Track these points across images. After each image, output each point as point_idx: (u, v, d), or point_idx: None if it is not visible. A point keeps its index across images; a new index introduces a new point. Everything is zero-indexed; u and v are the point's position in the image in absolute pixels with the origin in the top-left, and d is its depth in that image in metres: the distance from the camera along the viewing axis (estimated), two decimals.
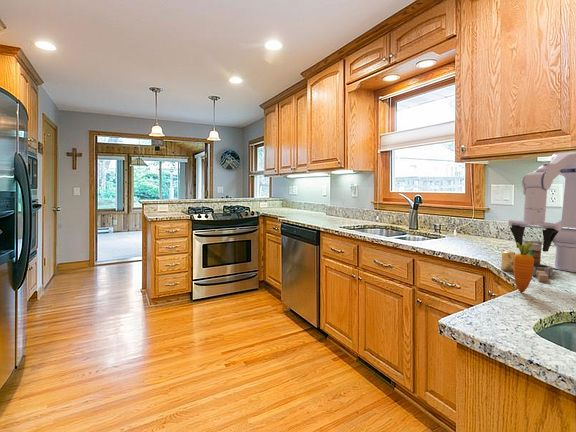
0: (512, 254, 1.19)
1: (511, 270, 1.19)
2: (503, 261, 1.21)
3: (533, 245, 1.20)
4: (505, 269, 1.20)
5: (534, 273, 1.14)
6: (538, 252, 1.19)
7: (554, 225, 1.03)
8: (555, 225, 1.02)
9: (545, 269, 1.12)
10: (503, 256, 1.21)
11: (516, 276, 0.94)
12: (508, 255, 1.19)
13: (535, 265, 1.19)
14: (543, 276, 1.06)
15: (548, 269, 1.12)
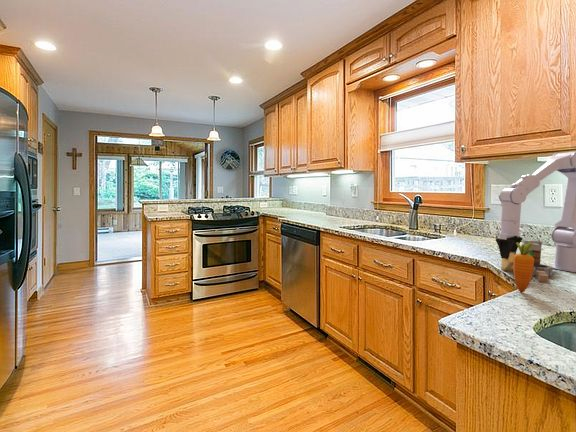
0: (512, 254, 1.19)
1: (511, 270, 1.19)
2: (503, 261, 1.21)
3: (533, 245, 1.20)
4: (505, 269, 1.20)
5: (534, 273, 1.14)
6: (538, 252, 1.19)
7: None
8: (500, 234, 1.17)
9: (545, 269, 1.12)
10: None
11: (516, 276, 0.94)
12: None
13: (535, 265, 1.19)
14: (543, 276, 1.06)
15: (548, 269, 1.12)
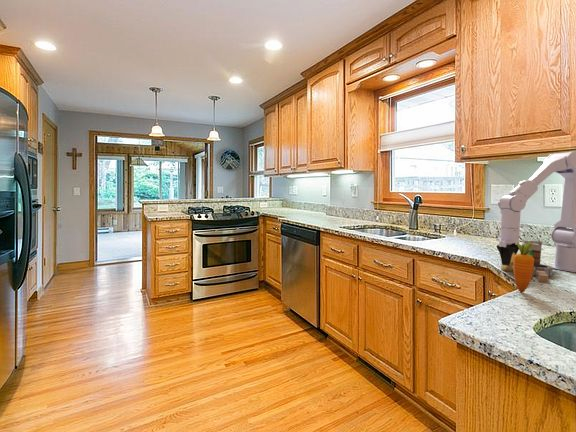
0: (512, 254, 1.19)
1: (511, 270, 1.19)
2: None
3: (533, 245, 1.20)
4: (505, 269, 1.20)
5: (534, 273, 1.14)
6: (538, 252, 1.19)
7: None
8: None
9: (545, 269, 1.12)
10: None
11: (516, 276, 0.94)
12: None
13: (535, 265, 1.19)
14: (543, 276, 1.06)
15: (548, 269, 1.12)
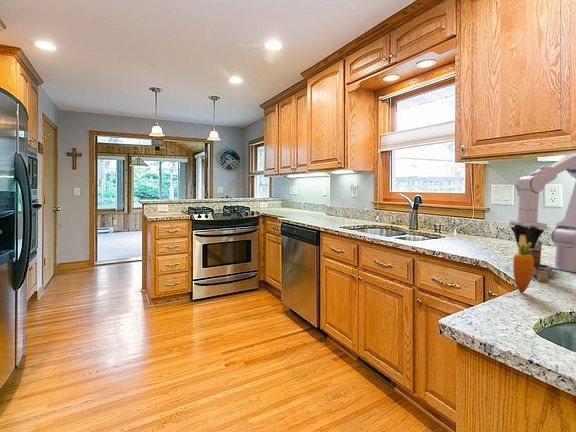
0: None
1: (531, 252, 1.17)
2: None
3: None
4: (529, 252, 1.16)
5: (534, 273, 1.14)
6: (538, 252, 1.19)
7: (538, 225, 1.11)
8: (539, 225, 1.11)
9: (545, 269, 1.12)
10: (526, 239, 1.16)
11: (516, 276, 0.94)
12: None
13: (535, 265, 1.19)
14: (543, 276, 1.06)
15: (548, 269, 1.12)
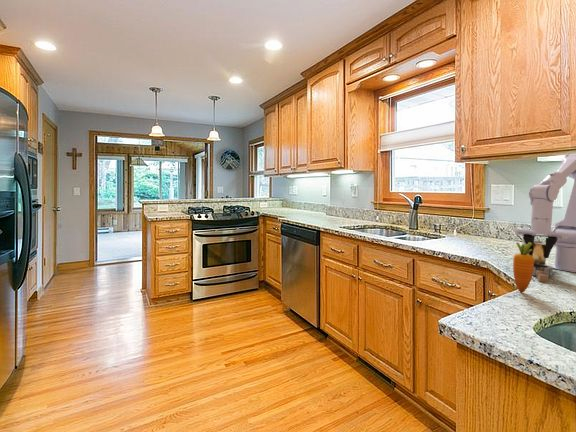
0: None
1: None
2: (544, 254, 1.14)
3: None
4: None
5: (534, 273, 1.14)
6: None
7: (561, 234, 1.10)
8: (562, 234, 1.10)
9: (545, 269, 1.12)
10: (543, 249, 1.14)
11: (516, 276, 0.94)
12: None
13: (535, 265, 1.19)
14: (543, 276, 1.06)
15: (548, 269, 1.12)
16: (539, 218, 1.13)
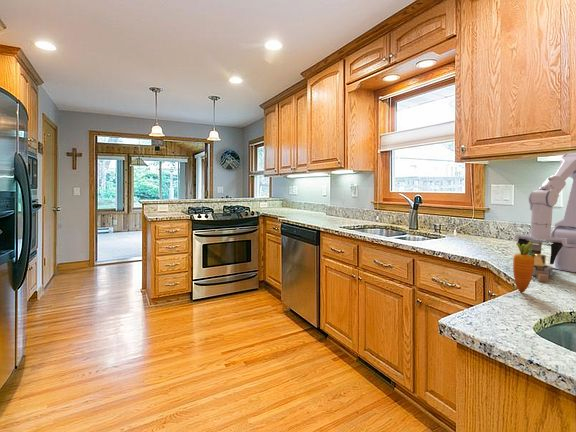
0: None
1: None
2: (543, 265, 1.14)
3: (533, 245, 1.20)
4: None
5: (534, 273, 1.14)
6: (538, 252, 1.19)
7: (561, 240, 1.10)
8: (562, 240, 1.10)
9: (545, 269, 1.12)
10: (543, 260, 1.14)
11: (516, 276, 0.94)
12: (545, 257, 1.15)
13: None
14: (543, 276, 1.06)
15: (548, 269, 1.12)
16: (539, 223, 1.13)
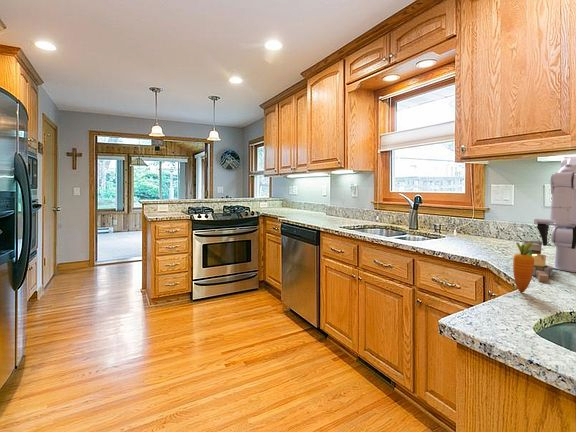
0: None
1: None
2: (543, 265, 1.14)
3: (533, 245, 1.20)
4: None
5: (534, 273, 1.14)
6: (538, 252, 1.19)
7: None
8: None
9: (545, 269, 1.12)
10: (543, 260, 1.14)
11: (516, 276, 0.94)
12: (545, 257, 1.15)
13: None
14: (543, 276, 1.06)
15: (548, 269, 1.12)
16: (563, 207, 1.09)
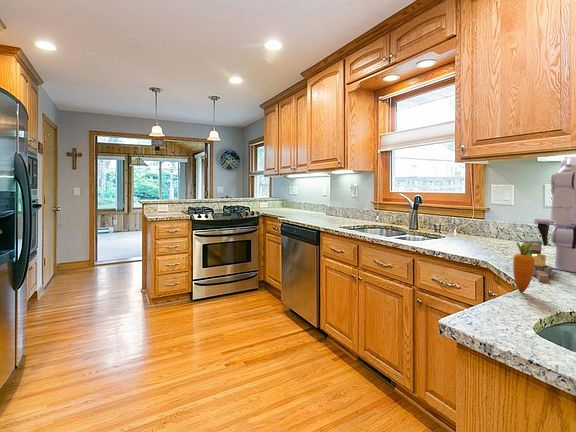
0: None
1: None
2: (543, 265, 1.14)
3: (533, 245, 1.20)
4: None
5: (534, 273, 1.14)
6: (538, 252, 1.19)
7: None
8: None
9: (545, 269, 1.12)
10: (543, 260, 1.14)
11: (516, 276, 0.94)
12: (545, 257, 1.15)
13: None
14: (543, 276, 1.06)
15: (548, 269, 1.12)
16: (563, 207, 1.09)
